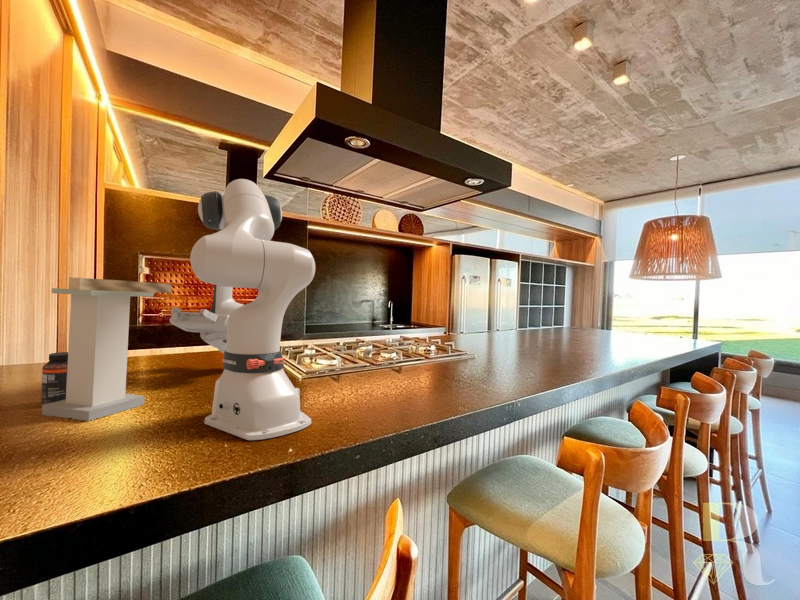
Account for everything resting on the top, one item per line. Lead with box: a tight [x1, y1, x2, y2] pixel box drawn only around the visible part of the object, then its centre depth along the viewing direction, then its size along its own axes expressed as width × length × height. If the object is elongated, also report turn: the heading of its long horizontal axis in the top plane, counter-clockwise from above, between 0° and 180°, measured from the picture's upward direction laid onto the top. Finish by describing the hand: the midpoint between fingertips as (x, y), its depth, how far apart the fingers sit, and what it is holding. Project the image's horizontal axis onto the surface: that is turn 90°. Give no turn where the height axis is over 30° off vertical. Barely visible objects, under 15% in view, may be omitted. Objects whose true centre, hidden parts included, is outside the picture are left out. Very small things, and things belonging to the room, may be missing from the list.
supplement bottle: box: [40, 351, 68, 406], centre depth 79 cm, size 6×6×11 cm
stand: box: [41, 287, 155, 422], centre depth 77 cm, size 14×12×26 cm
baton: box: [68, 277, 172, 294], centre depth 82 cm, size 22×3×2 cm, turn 169°
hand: (187, 310), depth 100 cm, fingers open, 8 cm apart
